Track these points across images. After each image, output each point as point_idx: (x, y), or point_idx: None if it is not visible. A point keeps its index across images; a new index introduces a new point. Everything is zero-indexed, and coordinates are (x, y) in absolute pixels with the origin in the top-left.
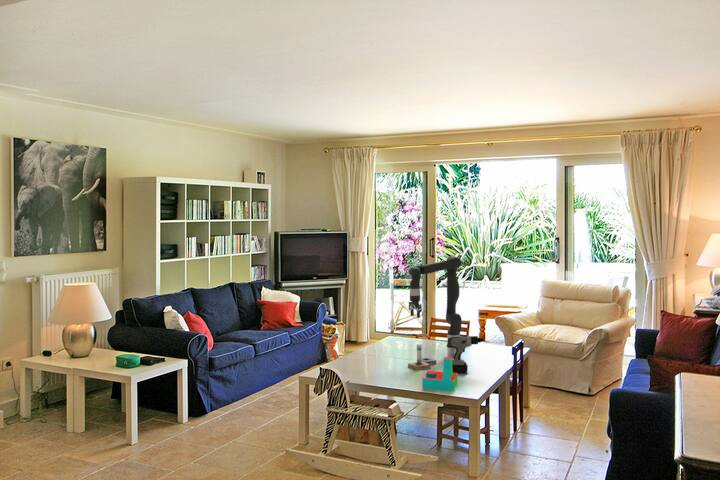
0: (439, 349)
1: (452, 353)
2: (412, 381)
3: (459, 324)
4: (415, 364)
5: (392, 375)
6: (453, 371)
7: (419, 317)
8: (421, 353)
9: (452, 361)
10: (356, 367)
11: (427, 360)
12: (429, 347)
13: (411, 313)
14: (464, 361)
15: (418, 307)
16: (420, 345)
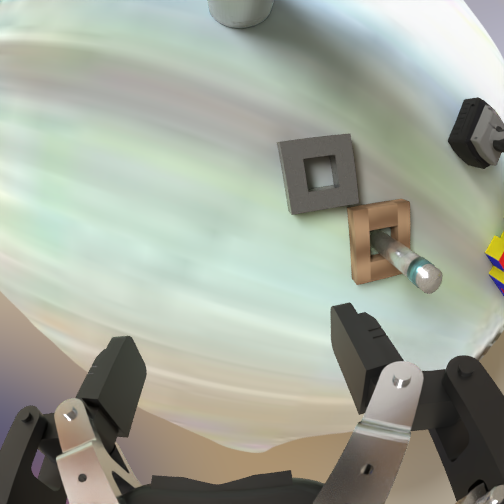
0: (71, 28)
1: (268, 7)
2: (474, 311)
3: None
4: (385, 262)
5: (413, 348)
6: (476, 158)
7: (347, 306)
8: (414, 252)
9: (495, 161)
10: (288, 415)
11: (341, 177)
12: (29, 66)
13: (134, 398)
14: (497, 115)
15: (474, 479)
16: (440, 277)
